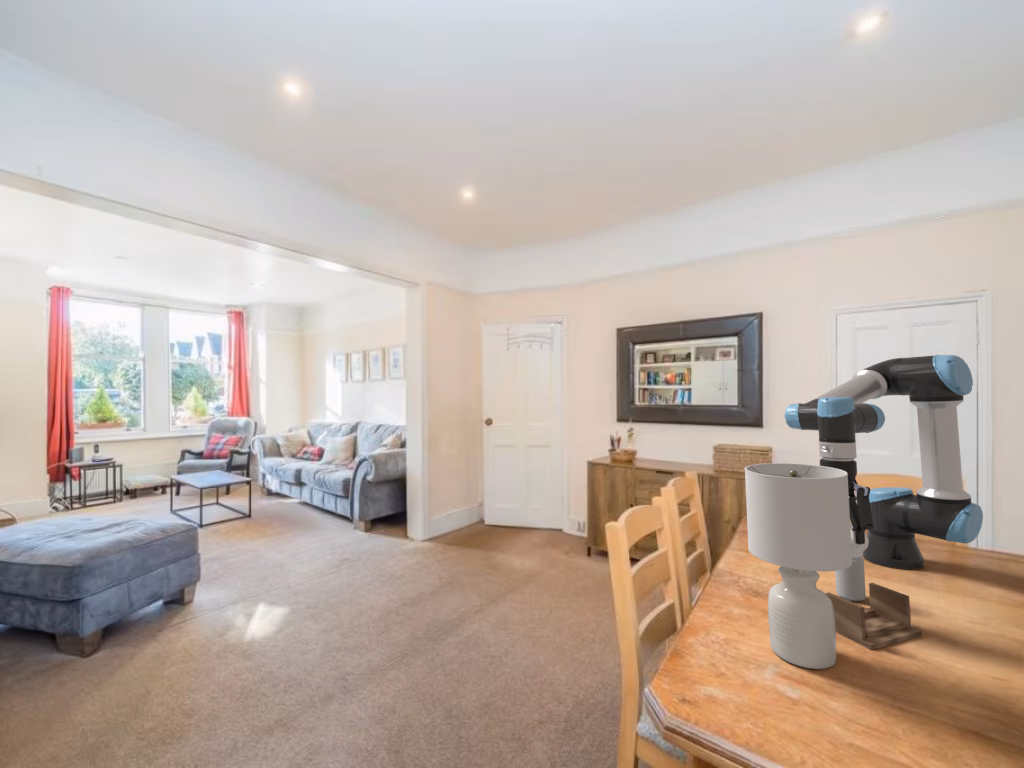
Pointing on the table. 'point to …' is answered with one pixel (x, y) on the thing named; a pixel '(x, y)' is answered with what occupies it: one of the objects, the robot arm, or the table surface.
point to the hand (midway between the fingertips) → (841, 551)
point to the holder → (875, 618)
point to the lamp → (800, 552)
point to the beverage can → (851, 581)
